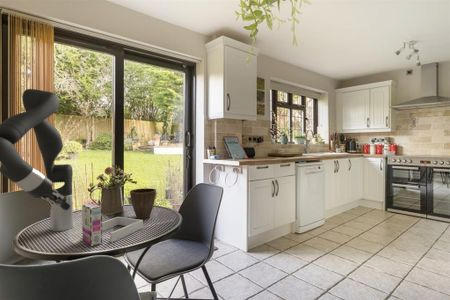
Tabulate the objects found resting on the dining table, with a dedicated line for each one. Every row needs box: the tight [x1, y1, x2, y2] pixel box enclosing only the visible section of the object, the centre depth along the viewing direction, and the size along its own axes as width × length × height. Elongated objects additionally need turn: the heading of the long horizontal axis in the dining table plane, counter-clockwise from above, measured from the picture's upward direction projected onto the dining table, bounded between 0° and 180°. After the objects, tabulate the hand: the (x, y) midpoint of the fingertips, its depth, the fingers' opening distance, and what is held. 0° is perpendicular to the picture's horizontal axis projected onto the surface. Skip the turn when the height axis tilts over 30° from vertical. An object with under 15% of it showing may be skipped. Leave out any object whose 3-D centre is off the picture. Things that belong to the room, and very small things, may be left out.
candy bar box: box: [81, 202, 103, 247], centre depth 108 cm, size 11×5×16 cm, turn 47°
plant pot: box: [129, 187, 157, 220], centre depth 145 cm, size 15×15×16 cm
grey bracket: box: [102, 216, 144, 243], centre depth 120 cm, size 17×20×4 cm
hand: (67, 208), depth 98 cm, fingers closed
